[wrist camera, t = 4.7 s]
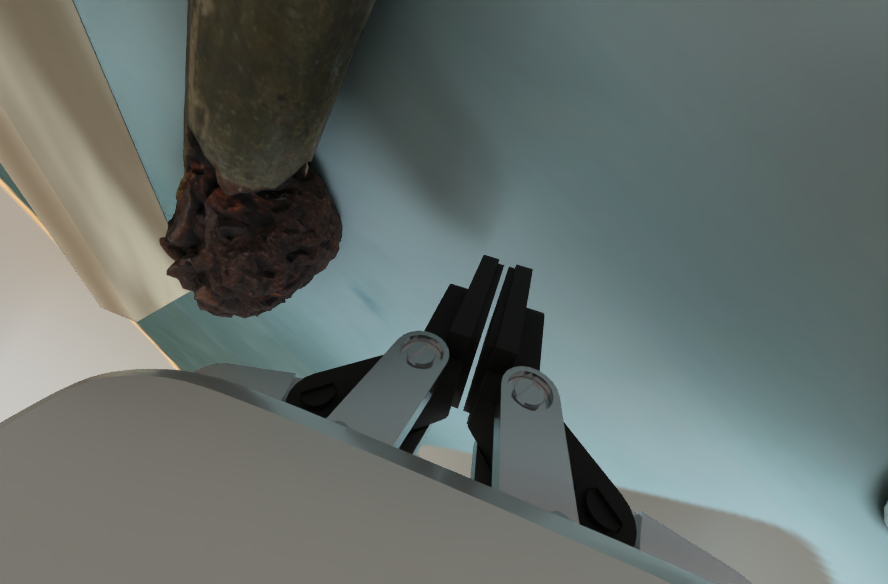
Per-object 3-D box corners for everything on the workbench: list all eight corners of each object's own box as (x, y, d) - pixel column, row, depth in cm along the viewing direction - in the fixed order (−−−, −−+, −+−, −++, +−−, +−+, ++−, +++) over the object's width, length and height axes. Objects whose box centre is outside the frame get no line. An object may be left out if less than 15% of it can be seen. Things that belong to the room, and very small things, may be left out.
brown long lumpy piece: (297, -197, 8) (4, -494, 4) (488, -16, 9) (418, -97, 5) (225, 242, 19) (124, 292, 15) (316, 308, 20) (246, 374, 16)
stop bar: (1, -167, 11) (-231, -265, 8) (195, 288, 23) (136, 321, 20) (-58, -173, 11) (-297, -267, 8) (162, 276, 23) (100, 307, 20)
